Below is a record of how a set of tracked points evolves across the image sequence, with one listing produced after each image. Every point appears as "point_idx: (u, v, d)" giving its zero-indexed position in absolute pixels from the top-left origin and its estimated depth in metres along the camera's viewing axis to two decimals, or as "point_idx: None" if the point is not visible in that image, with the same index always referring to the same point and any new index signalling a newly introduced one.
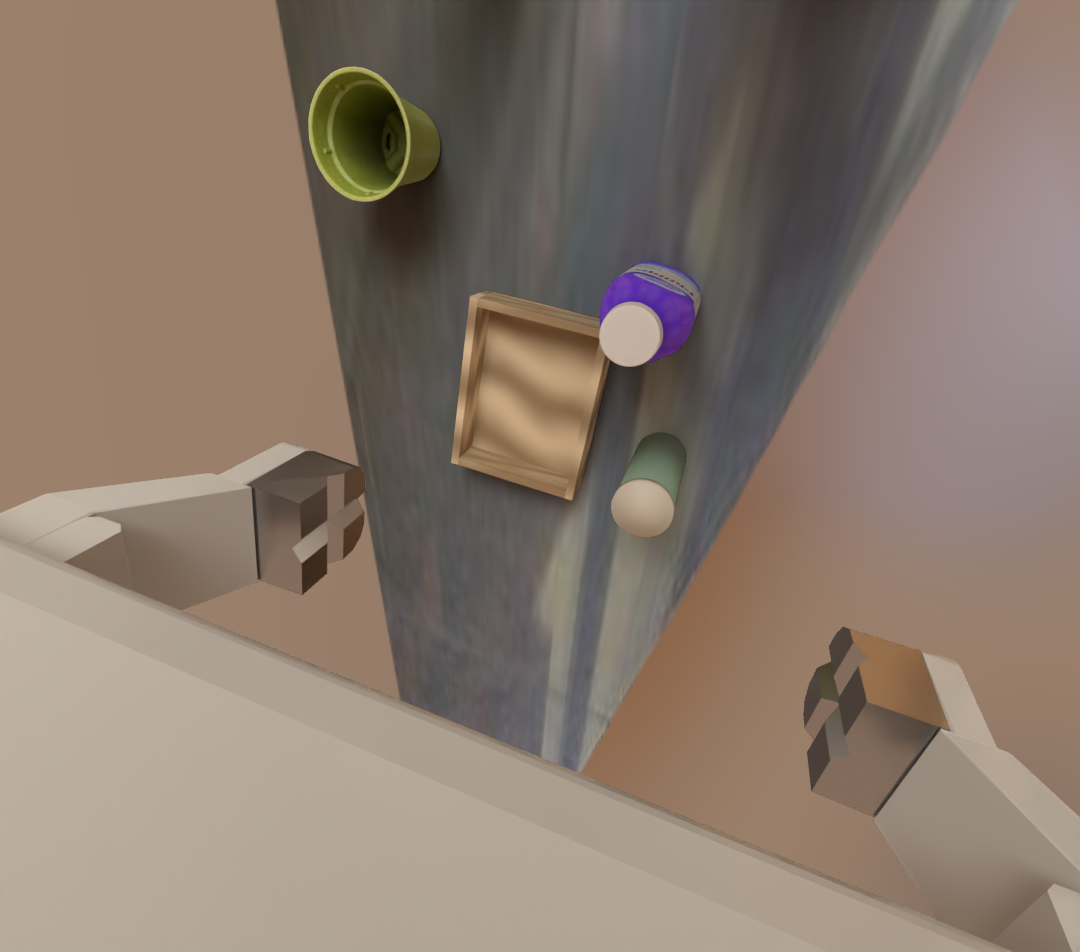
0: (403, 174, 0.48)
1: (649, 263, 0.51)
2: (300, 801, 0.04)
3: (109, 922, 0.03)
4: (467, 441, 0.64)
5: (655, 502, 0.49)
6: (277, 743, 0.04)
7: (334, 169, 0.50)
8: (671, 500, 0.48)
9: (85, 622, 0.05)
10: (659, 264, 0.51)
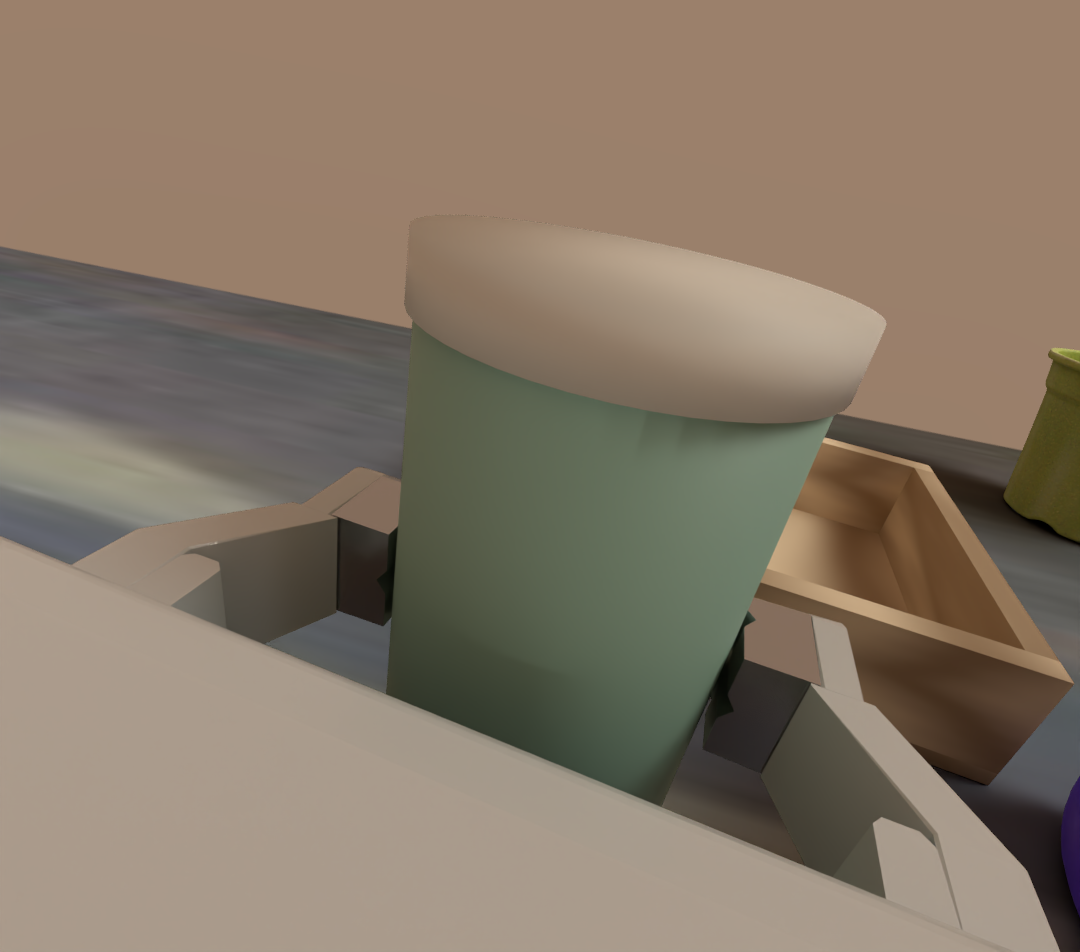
0: None
1: None
2: (300, 801, 0.04)
3: (109, 922, 0.03)
4: None
5: (740, 295, 0.06)
6: (277, 743, 0.04)
7: None
8: (784, 360, 0.05)
9: (85, 622, 0.05)
10: None
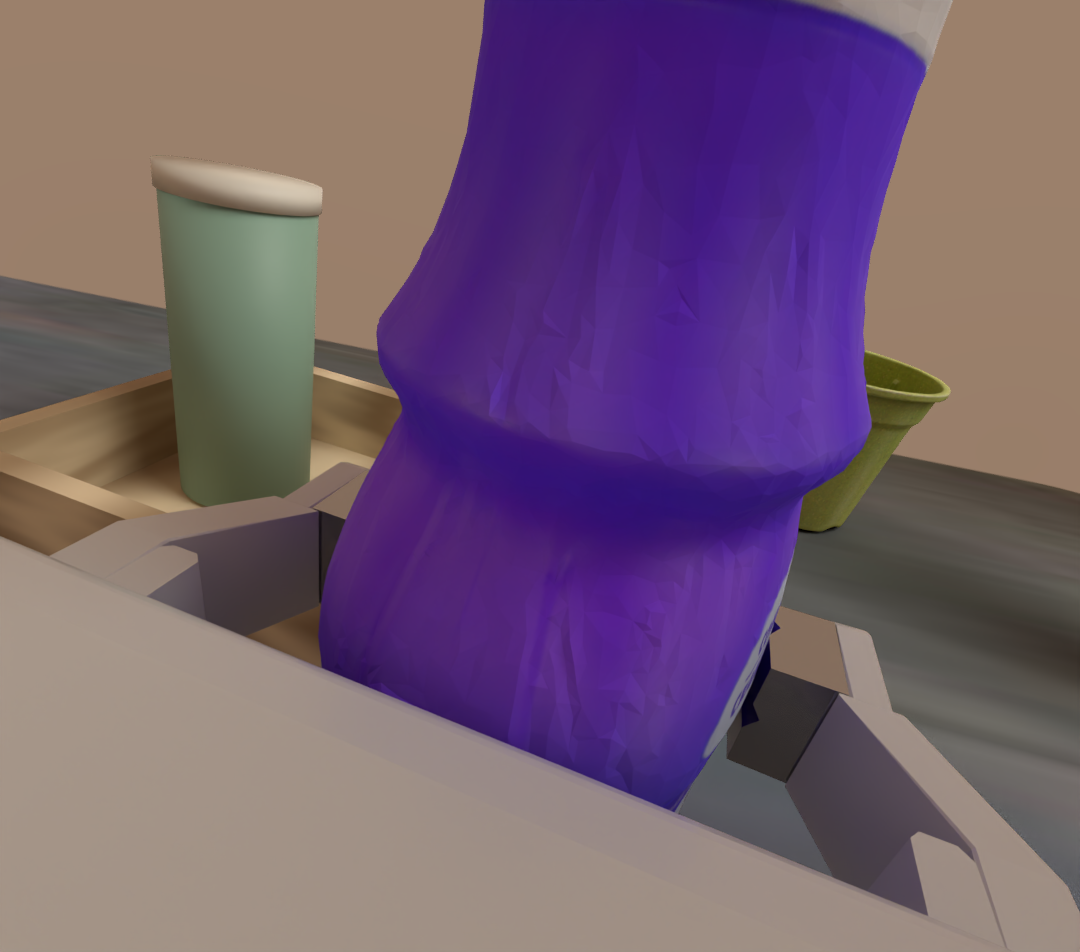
0: None
1: None
2: (300, 801, 0.04)
3: (109, 924, 0.03)
4: None
5: (252, 179, 0.19)
6: (277, 743, 0.04)
7: None
8: (240, 190, 0.18)
9: (85, 622, 0.05)
10: None
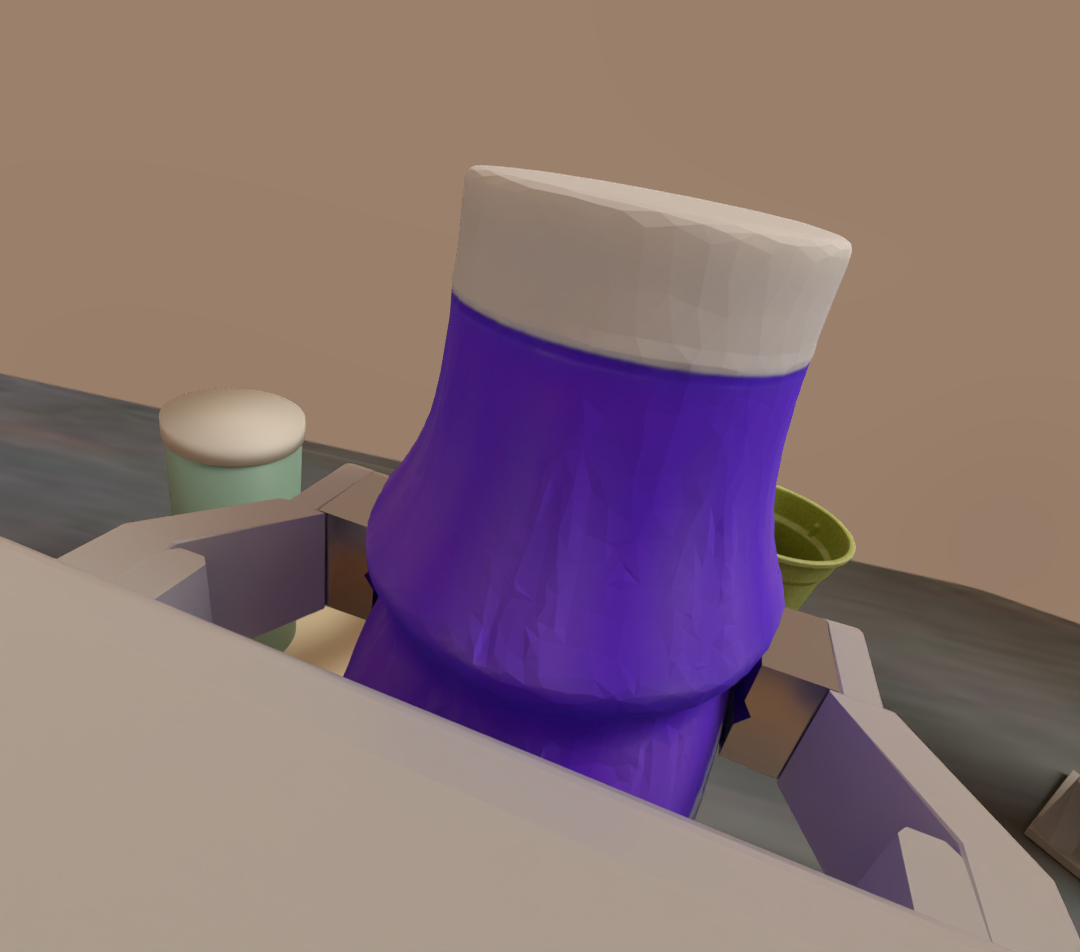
0: None
1: None
2: (300, 801, 0.04)
3: (109, 922, 0.03)
4: None
5: (246, 432, 0.23)
6: (277, 743, 0.04)
7: None
8: (238, 453, 0.22)
9: (85, 622, 0.05)
10: None
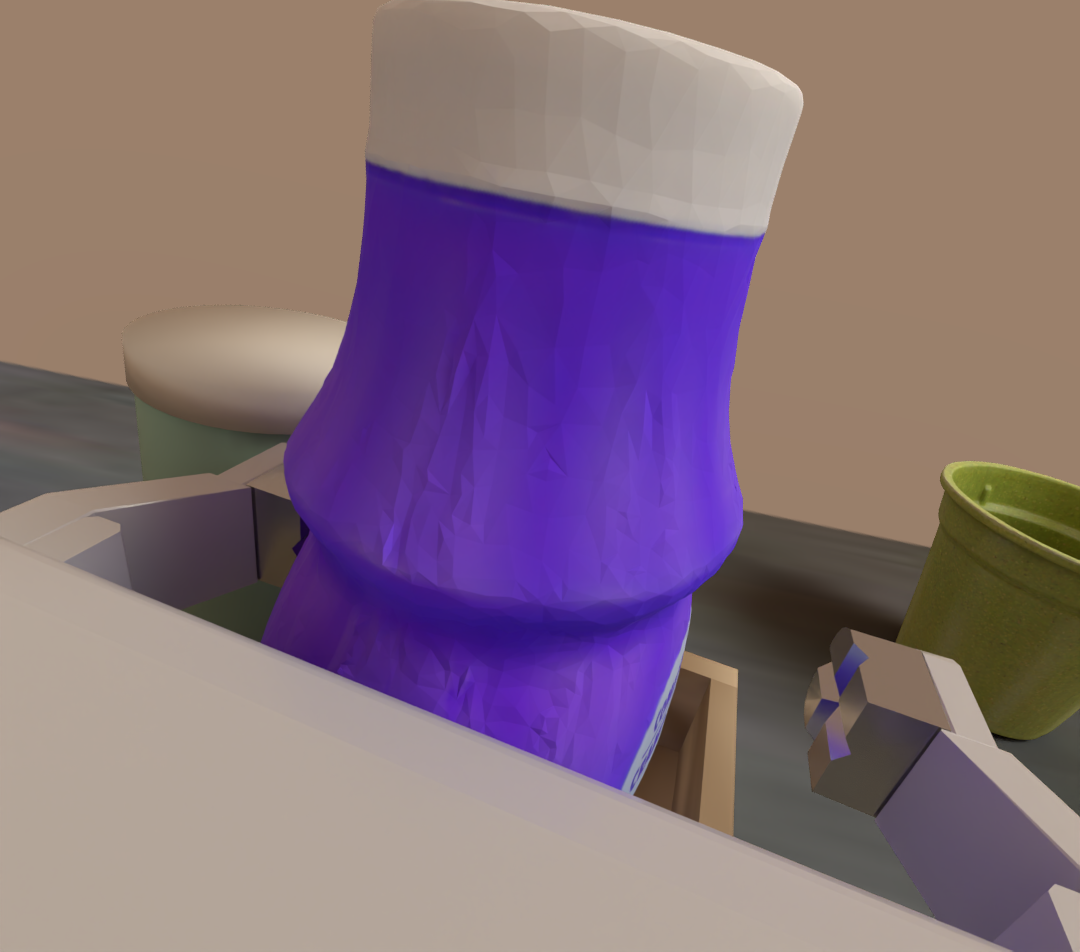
0: (1076, 563, 0.19)
1: None
2: (300, 801, 0.04)
3: (109, 922, 0.03)
4: None
5: (314, 367, 0.11)
6: (277, 743, 0.04)
7: None
8: None
9: (85, 622, 0.05)
10: None
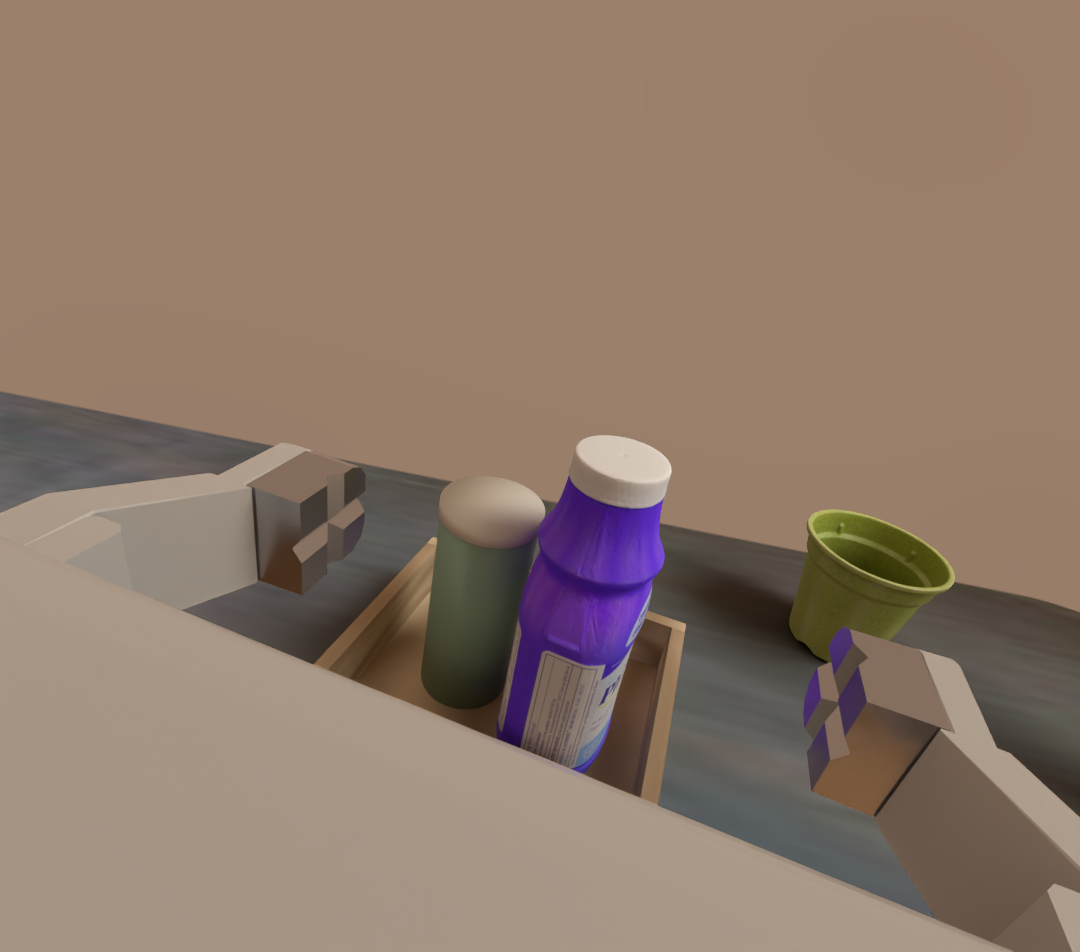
0: (857, 570, 0.37)
1: None
2: (300, 801, 0.04)
3: (107, 924, 0.03)
4: None
5: (513, 517, 0.28)
6: (277, 743, 0.04)
7: (825, 527, 0.44)
8: (520, 537, 0.28)
9: (85, 622, 0.05)
10: (610, 717, 0.32)
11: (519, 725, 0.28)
